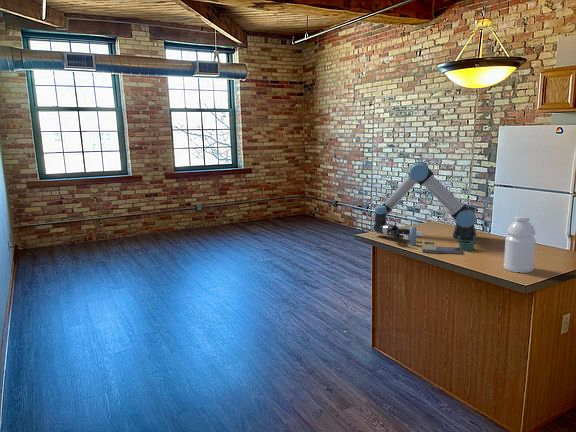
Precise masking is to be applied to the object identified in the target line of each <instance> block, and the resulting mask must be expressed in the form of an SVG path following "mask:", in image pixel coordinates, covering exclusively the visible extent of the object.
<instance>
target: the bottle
mask: <svg viewBox="0 0 576 432" xmlns="http://www.w3.org/2000/svg"><path fill="white" fill-rule="evenodd" d="M506 233H507V234H508V235H507V236H506V237H505V241H504V242H505V243H504V254H503V255H504V256H503V257H504V259H503V269H505V270H507V271H509V272H512V273H518V272H520V273H522V274H528V273H531V272H533V271H534V268H535V267H534V263H535V262H534V261H535V251H536V242H537V240H536V238H535V237H534V236H535V235H536V229H535V228H534V226H533V225H532V224H531V223H530V217H529V216H525V215H516V216H514V221H513V222H512V223H510V225H508V227H507V230H506ZM520 273H519V274H520Z"/></svg>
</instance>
